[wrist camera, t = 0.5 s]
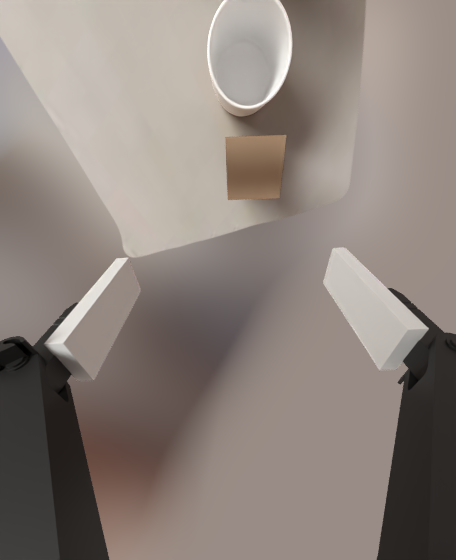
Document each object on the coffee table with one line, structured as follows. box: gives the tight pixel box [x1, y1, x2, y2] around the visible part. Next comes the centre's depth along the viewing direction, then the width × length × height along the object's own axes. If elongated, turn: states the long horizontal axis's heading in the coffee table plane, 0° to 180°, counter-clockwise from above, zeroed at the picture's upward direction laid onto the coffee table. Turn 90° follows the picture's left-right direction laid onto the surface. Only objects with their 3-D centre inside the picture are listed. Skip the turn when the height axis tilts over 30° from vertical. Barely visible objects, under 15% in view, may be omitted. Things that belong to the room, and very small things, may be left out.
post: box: [226, 135, 286, 200], centre depth 27 cm, size 5×5×20 cm
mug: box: [207, 0, 292, 116], centre depth 24 cm, size 9×12×11 cm
